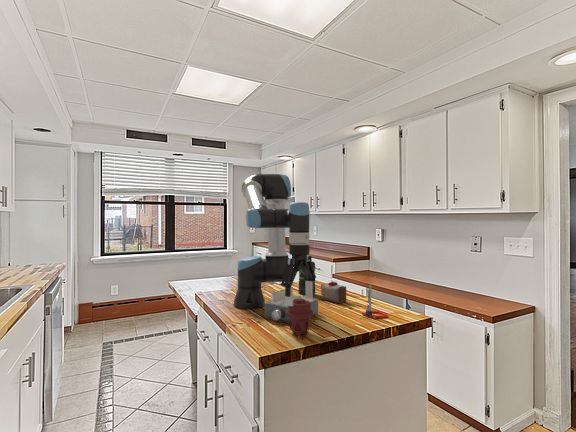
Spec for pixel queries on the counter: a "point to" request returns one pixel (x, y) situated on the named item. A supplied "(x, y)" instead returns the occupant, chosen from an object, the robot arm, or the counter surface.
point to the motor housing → (284, 306)
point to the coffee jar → (302, 282)
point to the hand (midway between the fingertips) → (299, 301)
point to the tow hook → (368, 311)
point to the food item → (333, 292)
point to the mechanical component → (299, 316)
